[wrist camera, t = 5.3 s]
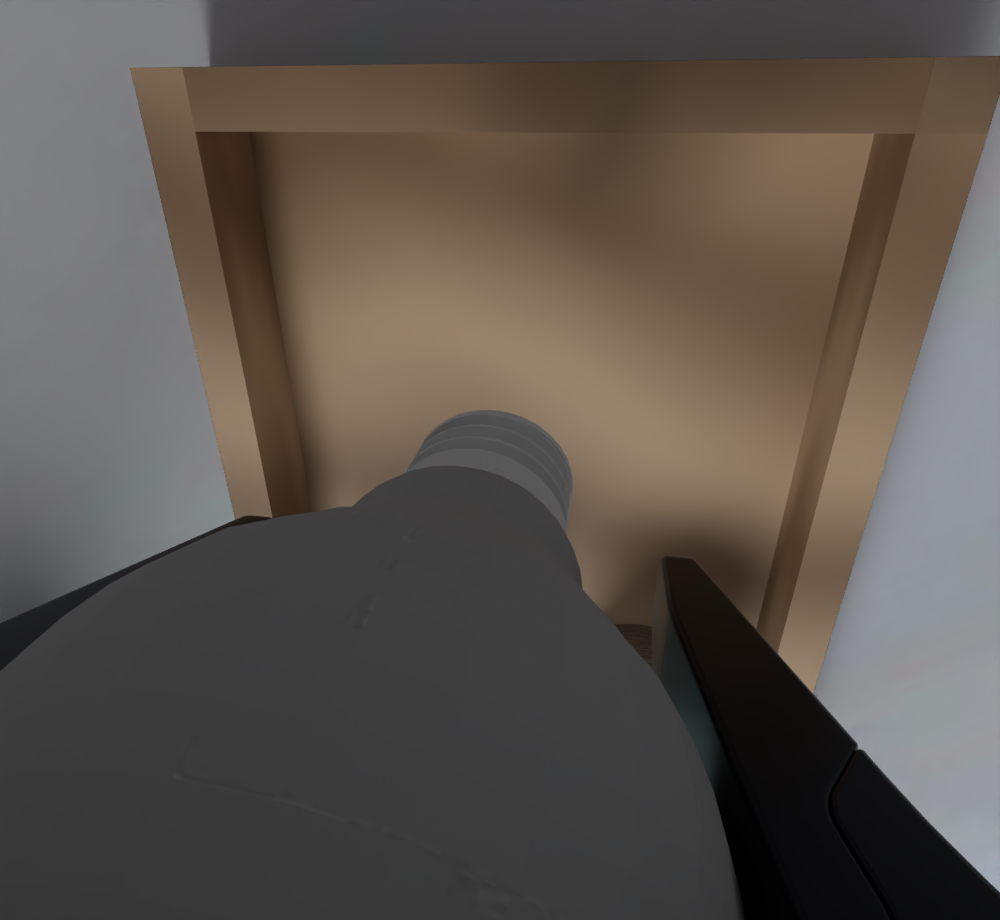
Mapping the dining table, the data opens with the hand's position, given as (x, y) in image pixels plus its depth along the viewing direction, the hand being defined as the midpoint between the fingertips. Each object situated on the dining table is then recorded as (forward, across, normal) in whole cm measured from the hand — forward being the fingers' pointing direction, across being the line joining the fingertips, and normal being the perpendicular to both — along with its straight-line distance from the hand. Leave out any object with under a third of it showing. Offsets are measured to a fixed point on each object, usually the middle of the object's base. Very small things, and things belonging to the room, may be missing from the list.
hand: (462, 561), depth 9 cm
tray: (+8, 0, +4) cm, 9 cm away
